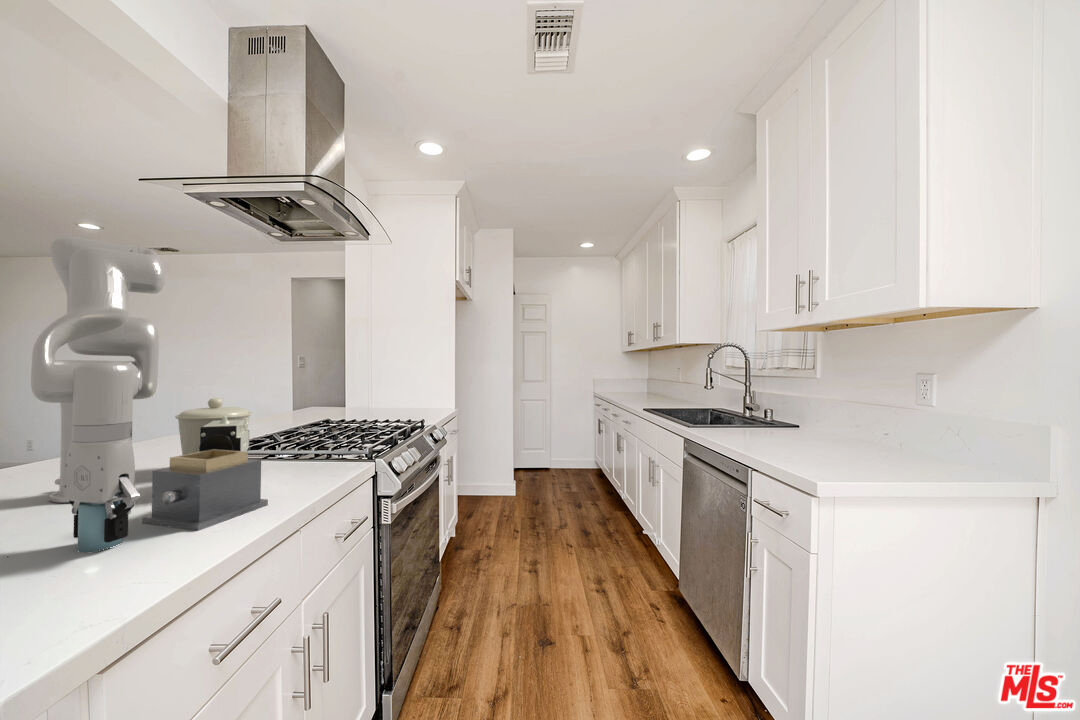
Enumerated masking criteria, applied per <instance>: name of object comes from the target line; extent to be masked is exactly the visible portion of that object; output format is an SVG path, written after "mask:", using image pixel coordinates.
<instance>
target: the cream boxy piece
mask: <svg viewBox="0 0 1080 720" xmlns="http://www.w3.org/2000/svg"><path fill="white" fill-rule="evenodd" d="M245 421H246V420H245V419H240V420H227V416H223V417H222V420H214V421H212V422H210V423H208V424H206V425H205V426H203V427H201V429H200V446H199V451H200V452H201V451H206V450H212V449H218V450H231V451H244V452H247V450H248V449H249V448H250V430H249V429H248V430H245V428H246V427H249V422H248V423H245Z"/></svg>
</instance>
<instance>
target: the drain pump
mask: <svg viewBox="0 0 1080 720" xmlns="http://www.w3.org/2000/svg"><path fill="white" fill-rule="evenodd" d="M114 498H115V497H113V499H114ZM119 503H120V502H116V503H113V504H114V507H115V508H116V507H117V506H118V505H119ZM107 518H108V515H107V512H106V508H105V505H104V503H103V504H92V503H82V504H80V505H79V506H78V538H77V552H78V551H79V552H78V553H80V552H92V553H94V552H93V551H99V550H103V549H107V548H110V547H113V546H116V545H118V544H120V543H122V541H123V540H124V538H121V539H118V540H115V541H112V542H109V543H107V542H104V525H105V519H107ZM122 544H123V543H122ZM120 545H121V544H120ZM116 547H117V546H116ZM107 550H108V549H107ZM103 551H104V550H103ZM99 552H100V551H99Z"/></svg>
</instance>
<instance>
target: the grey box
mask: <svg viewBox="0 0 1080 720" xmlns="http://www.w3.org/2000/svg"><path fill="white" fill-rule="evenodd" d="M248 455H249V453H248V451H245V452H244V451H231V450H218V449H212V450H206V451H201V452H196V453H191V454H186V455H182V454H181V455H176V456H172V457H171V456H170V457H169V466H168V467H167V466H166V467H164V468H163V467H162V468H159V469H153V470H152V474H151V475H152V477H151V478H152V479H151V481H152V482H151V483H152V485H151V491H152V492H151V514H147V515H145V516H142V518H141V521H142V522H141V524H145V523H146V525H153V524H154V525H155V526H160V525H161V527H168V526H170V527H169V528H175V529H176V528H177V529H183V530H192V531H200V530H204V529H206V528H208V527H209V528H210V527H211V526H214V525H217V524H220V523H222V522H225V521H228V520H231V519H233V518H237V517H238V516H241V515H244V513H245V514H247V513H250V512H252V511H255V510H258V509H260V508H261V509H262V508H263V507H266V506H268V505H269V504H268V503H269V500H268V499H265V498H261V495H262V494H261V493H262V486H261V485H262V460H261V459H254V458H248ZM154 525H153V526H154Z"/></svg>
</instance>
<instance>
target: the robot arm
mask: <svg viewBox="0 0 1080 720" xmlns="http://www.w3.org/2000/svg"><path fill="white" fill-rule="evenodd" d="M49 247H50V248H49V249H50V251H49V253H50V258H51V261H52V265H53V267H54V269H55V271H56V273H57V275H58V277H59V278H60V280H61V283H62V284H63V287H64V289H65V292H66V300H67V301H66V305H67V306H66V313H65V314H64V315H63V316H61V317H59V318H57V319H55V320H54V321H53V322H51V323H50V324H49V325H48V326H46V328H44V329H43V331H41V333H40V334H39V335H38V337H37V338H36V340H35V342H34V345H33V348H32V354H31V368H30V369H31V372H30V386H31V391H32V394H33V395H34V396H35V398H36V399H37V400H39V401H42V402H44V403H51V404H57V403H59V404H60V418H61V419H60V462H59V463H60V465H59V466H60V467H59V468H60V470H59V472H60V474H59V478H57V479H55V480H54V485H56V486H57V485H59V486H58V487H59V490H58V491H55V492H53V493H51V494H50V495H49V501H50V502H52V503H61V504H62V503H70V505H71V507H72V508H71V513H72V514H73V538H75V539H78V506H79V505H80V504H82V503H92V504H103V503H104V505H105V508H106V512H107V515H108V518H107V519H105V525H104V542H107V543H109V542H112V541H115V540H118V539H121V538H123V539H124V538H126V537H127V536H129V515H130V514H131V513H132V509H133V507H135V504H136V503H137V502H138V500H139V499H140V496H141V495H140V493H139V492H138V491H137V488H136V465H135V456H134V448H133V442H132V440H133V412H134V411H133V409H134V408H133V406H134V405H133V404H134V403H133V402H134V400H145V399H148V398H149V399H150V398H151V397H153V396H154V395H155V394H156V392H157V388H158V387H157V386H158V377H159V375H158V374H159V350H160V349H159V345H160V340H159V337H160V336H159V330H158V328H157V325H156V323H154V321H152V320H150V319H148V318H142V317H137V316H136V317H133V316H130V304H129V301H130V300H129V293H139V294H140V293H141V294H151V295H152V294H155V295H156V294H158V293H160V292H161V291H162V290H163V288H164V287H165V283H166V282H165V281H166V271H165V267H164V263H163V261H162V260H161V257H160V256H159V255H158V253H157V252H156V251H155V250H153V249H152V248H148V247H143V246H138V245H131V244H124V243H123V244H122V243H118V242H111V241H105V240H99V239H93V238H84V237H73V236H72V237H71V236H67V237H65V236H63V237H59V238H56V239H54V240H53V241H52V242H51V244H50V246H49ZM66 344H67V345H68V348H69V350H70V351H72V352H73V353H75V354H77V355H84V356H104V357H105V356H107V357H108V356H109V357H110V356H111V357H131V358H133V359H134V361H133V360H79V359H78V360H76V359H75V360H74V359H73V360H72V359H70V360H68V359H66V360H65V359H64V360H62V359H60V360H59V359H58V360H57V359H55V358H56V357H55V356H56V352H57V351H58V350H59V349H60V348H61V347H62V346H64V345H66ZM113 498H114V499H113ZM116 502H120V503H119V505H118V506H117V507H116V508H115V507H114V504H113V503H116Z"/></svg>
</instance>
